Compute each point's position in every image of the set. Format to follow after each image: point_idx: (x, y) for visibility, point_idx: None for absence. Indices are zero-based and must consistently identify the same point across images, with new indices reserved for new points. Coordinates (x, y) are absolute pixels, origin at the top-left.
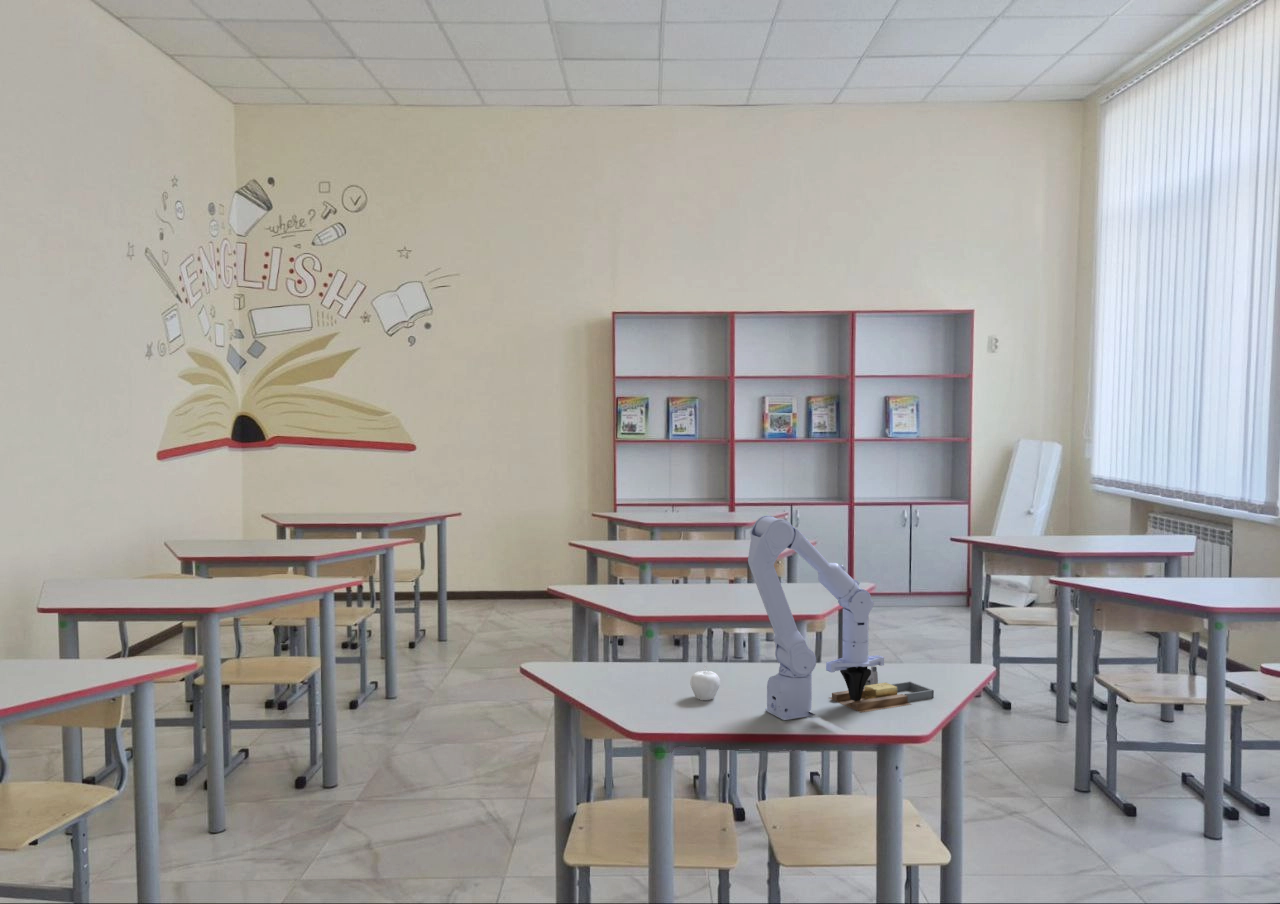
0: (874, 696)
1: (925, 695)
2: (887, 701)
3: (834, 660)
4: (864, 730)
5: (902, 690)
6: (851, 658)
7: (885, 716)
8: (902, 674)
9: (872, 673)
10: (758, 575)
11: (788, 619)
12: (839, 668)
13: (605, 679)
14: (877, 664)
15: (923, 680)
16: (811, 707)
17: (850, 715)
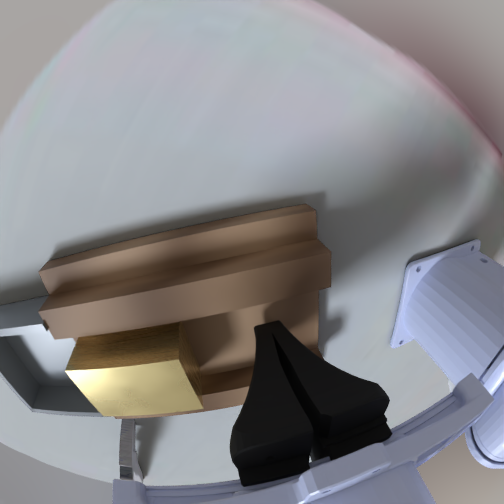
0: (182, 341)
1: None
2: (137, 287)
3: (433, 455)
4: (367, 68)
5: (56, 393)
6: (423, 481)
7: (185, 198)
8: (59, 451)
9: (132, 463)
10: None
11: None
12: (430, 417)
13: None
14: (153, 489)
15: (22, 423)
16: (426, 288)
17: (324, 244)
